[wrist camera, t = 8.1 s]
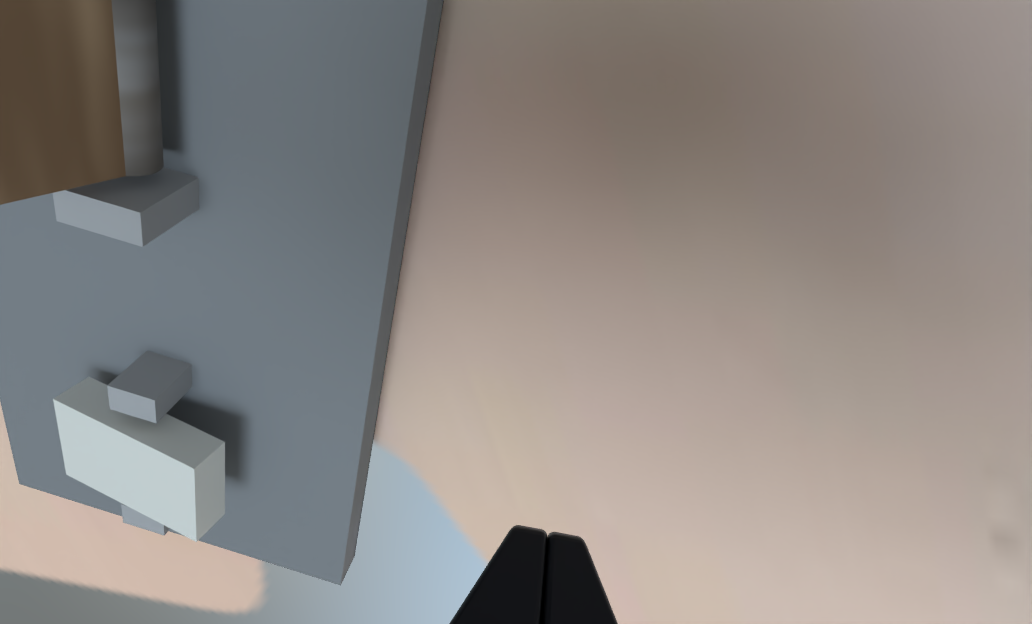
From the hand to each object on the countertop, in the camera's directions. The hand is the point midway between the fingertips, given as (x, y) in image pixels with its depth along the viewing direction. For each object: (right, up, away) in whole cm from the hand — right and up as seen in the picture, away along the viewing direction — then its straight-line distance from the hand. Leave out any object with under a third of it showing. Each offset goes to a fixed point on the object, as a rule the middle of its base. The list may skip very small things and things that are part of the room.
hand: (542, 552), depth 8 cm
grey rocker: (-13, -2, +16) cm, 21 cm away
